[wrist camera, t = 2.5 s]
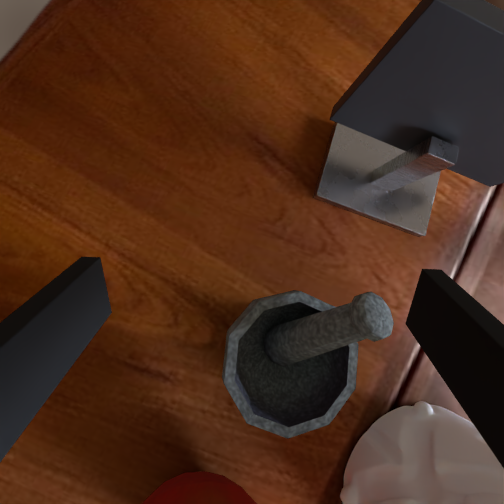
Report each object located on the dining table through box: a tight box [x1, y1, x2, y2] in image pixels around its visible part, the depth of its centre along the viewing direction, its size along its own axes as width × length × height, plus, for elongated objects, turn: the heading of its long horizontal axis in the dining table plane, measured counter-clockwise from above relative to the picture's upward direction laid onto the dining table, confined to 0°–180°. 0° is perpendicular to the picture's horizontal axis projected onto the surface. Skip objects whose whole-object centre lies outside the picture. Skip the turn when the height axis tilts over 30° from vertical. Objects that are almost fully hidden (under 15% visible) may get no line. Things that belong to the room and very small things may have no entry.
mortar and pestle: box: [222, 290, 394, 438], centre depth 22 cm, size 11×9×12 cm
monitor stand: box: [313, 122, 459, 237], centre depth 26 cm, size 8×12×8 cm, turn 73°
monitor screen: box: [330, 0, 504, 186], centre depth 20 cm, size 1×16×11 cm, turn 72°
